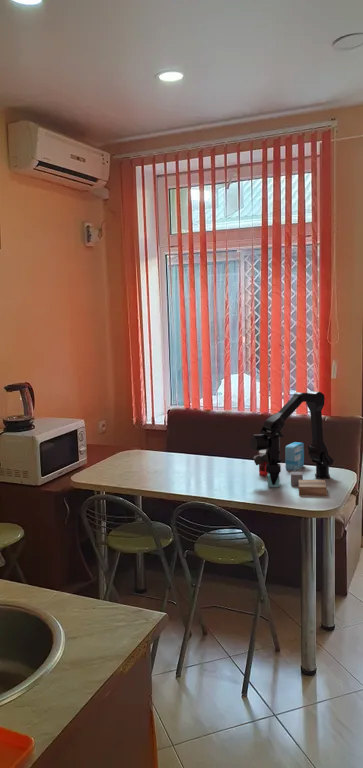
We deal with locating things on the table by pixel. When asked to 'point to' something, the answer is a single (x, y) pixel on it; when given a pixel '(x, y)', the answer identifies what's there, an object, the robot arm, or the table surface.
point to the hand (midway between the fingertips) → (273, 482)
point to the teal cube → (271, 482)
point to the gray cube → (296, 478)
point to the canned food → (263, 466)
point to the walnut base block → (312, 487)
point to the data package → (294, 456)
